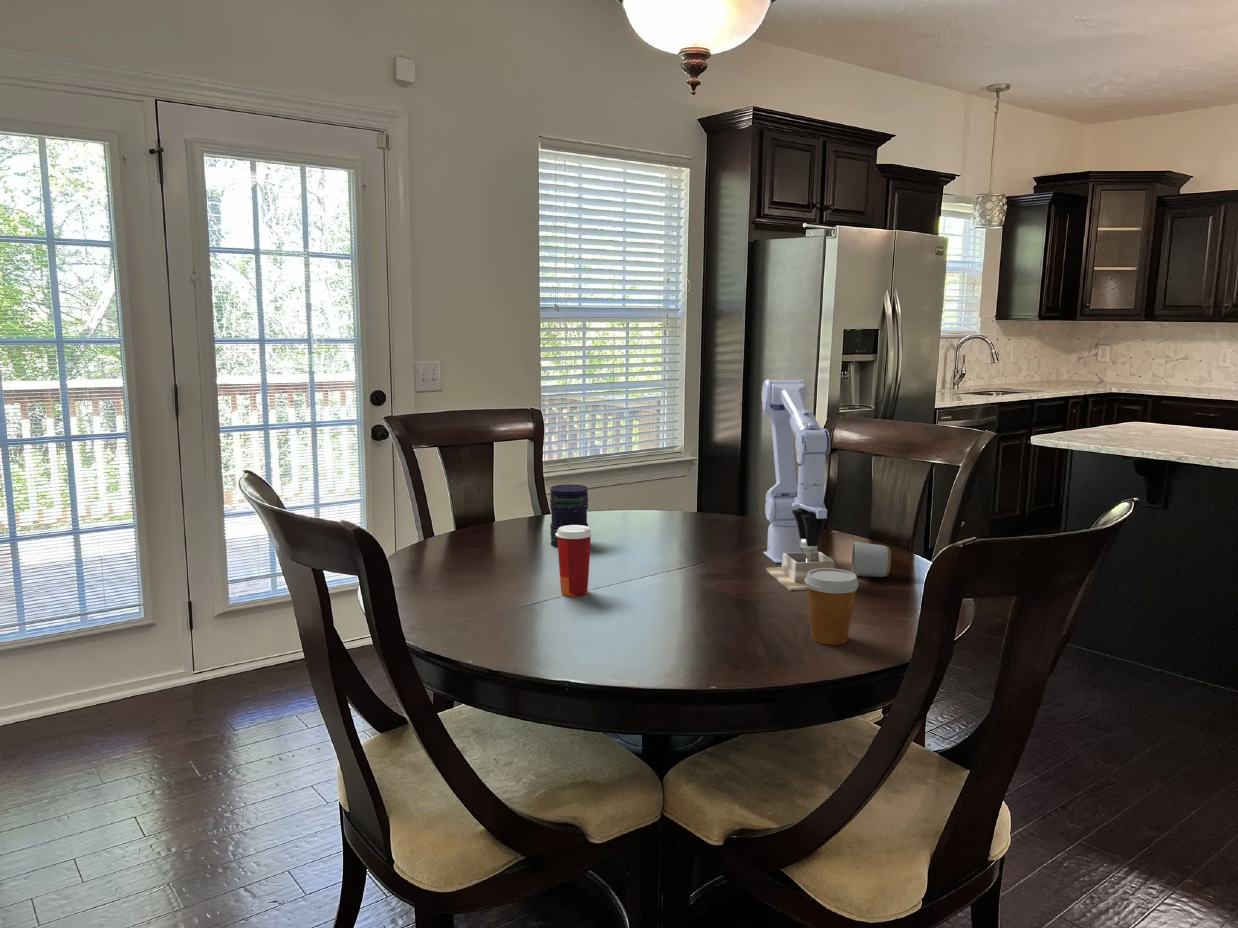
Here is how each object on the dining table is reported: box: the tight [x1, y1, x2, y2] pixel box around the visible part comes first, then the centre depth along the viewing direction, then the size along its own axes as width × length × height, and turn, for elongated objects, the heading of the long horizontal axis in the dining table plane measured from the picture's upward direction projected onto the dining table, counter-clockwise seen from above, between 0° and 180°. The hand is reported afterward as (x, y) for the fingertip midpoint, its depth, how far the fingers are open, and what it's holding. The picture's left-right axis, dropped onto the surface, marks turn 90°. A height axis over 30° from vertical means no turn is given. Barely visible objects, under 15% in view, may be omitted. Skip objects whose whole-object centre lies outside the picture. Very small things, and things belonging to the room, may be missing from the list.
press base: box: [765, 551, 837, 591], centre depth 193 cm, size 16×14×5 cm
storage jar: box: [549, 484, 589, 549], centre depth 223 cm, size 10×10×15 cm
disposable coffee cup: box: [805, 568, 860, 646], centre depth 155 cm, size 10×10×12 cm
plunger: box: [800, 538, 818, 562], centre depth 192 cm, size 7×7×6 cm
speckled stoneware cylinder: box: [850, 541, 892, 578], centre depth 197 cm, size 11×8×8 cm
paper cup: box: [555, 525, 593, 598], centre depth 181 cm, size 8×8×14 cm
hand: (808, 543), depth 192 cm, fingers closed on plunger, 4 cm apart
